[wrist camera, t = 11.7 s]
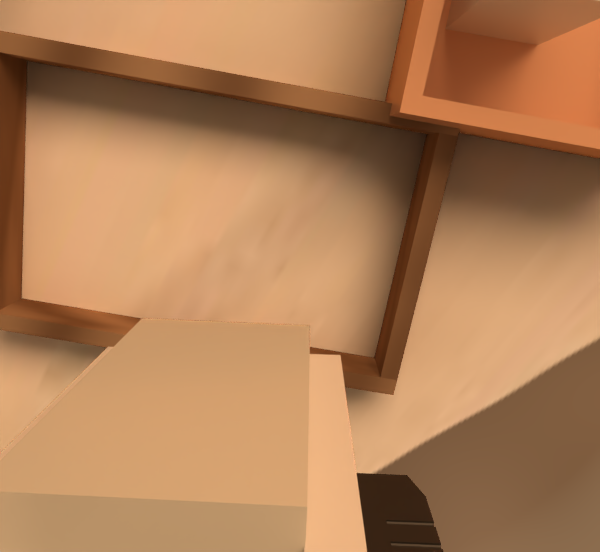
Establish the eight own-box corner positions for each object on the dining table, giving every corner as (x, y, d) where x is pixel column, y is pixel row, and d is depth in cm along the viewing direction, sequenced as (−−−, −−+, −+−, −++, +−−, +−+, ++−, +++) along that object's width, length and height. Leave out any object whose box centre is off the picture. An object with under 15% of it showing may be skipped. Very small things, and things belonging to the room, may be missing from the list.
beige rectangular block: (149, 463, 13) (9, 733, 7) (142, 317, 12) (-30, 489, 6) (303, 470, 13) (295, 749, 7) (310, 325, 11) (307, 506, 6)
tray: (5, 310, 25) (-23, 325, 23) (9, 37, 22) (-24, 26, 19) (386, 374, 26) (393, 394, 23) (448, 119, 22) (463, 116, 20)
